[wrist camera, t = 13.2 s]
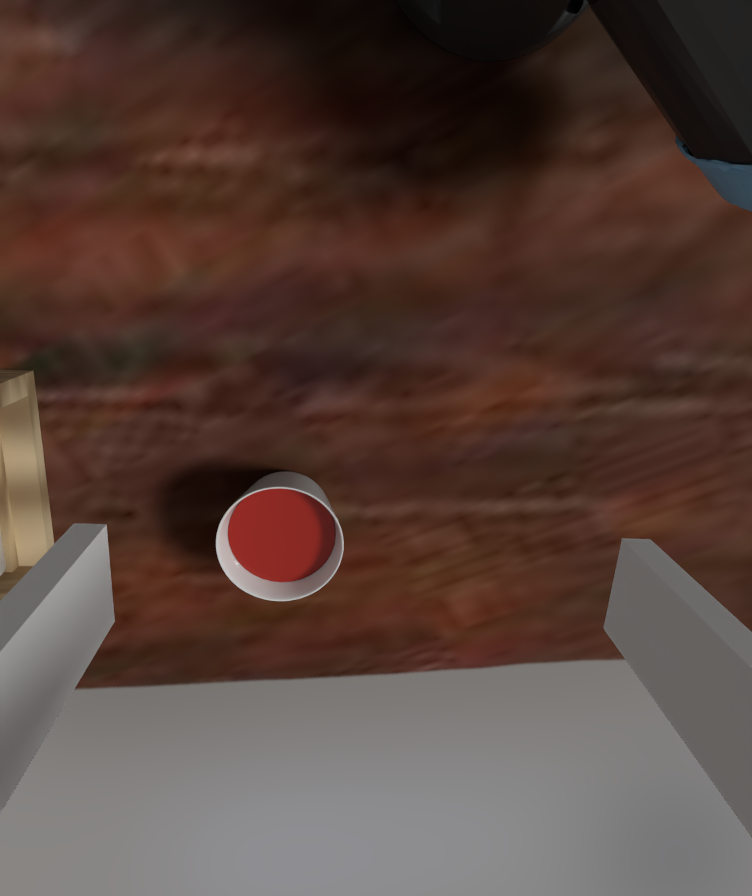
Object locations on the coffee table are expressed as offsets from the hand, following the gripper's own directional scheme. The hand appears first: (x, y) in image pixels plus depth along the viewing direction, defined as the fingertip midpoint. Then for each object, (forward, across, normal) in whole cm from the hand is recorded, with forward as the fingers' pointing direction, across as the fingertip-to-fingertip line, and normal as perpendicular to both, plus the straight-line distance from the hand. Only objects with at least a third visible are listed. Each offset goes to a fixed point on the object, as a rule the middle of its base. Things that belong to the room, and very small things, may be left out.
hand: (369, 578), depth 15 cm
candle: (+32, -4, -12) cm, 34 cm away
